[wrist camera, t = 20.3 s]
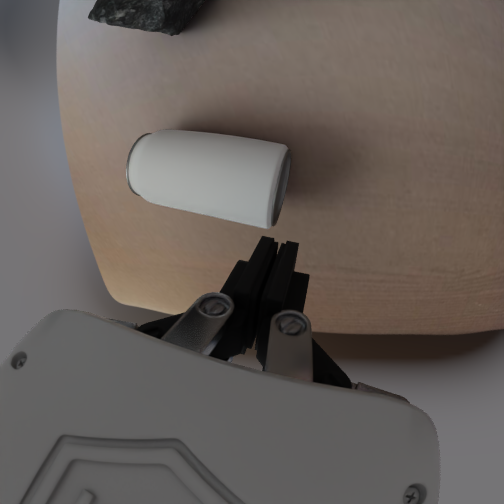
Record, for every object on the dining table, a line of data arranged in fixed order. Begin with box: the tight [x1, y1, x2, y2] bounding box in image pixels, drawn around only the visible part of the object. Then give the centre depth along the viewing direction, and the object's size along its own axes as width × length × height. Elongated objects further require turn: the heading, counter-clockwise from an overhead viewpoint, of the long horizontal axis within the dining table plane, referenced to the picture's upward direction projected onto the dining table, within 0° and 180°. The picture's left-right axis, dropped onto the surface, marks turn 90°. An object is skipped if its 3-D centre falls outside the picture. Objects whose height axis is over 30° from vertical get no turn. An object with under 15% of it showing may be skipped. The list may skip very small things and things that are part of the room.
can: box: [126, 129, 291, 229], centre depth 21 cm, size 6×6×12 cm
